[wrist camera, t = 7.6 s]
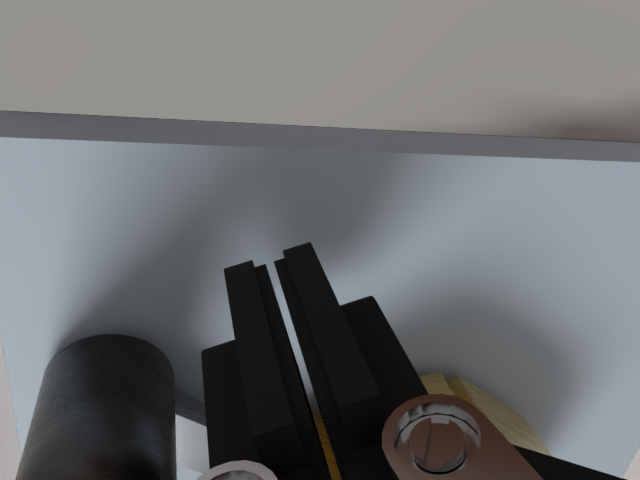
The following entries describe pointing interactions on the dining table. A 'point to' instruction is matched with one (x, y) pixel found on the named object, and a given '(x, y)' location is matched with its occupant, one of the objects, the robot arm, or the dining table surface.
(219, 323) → the pale blue slab
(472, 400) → the segmented octagonal ring
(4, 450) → the dining table surface
